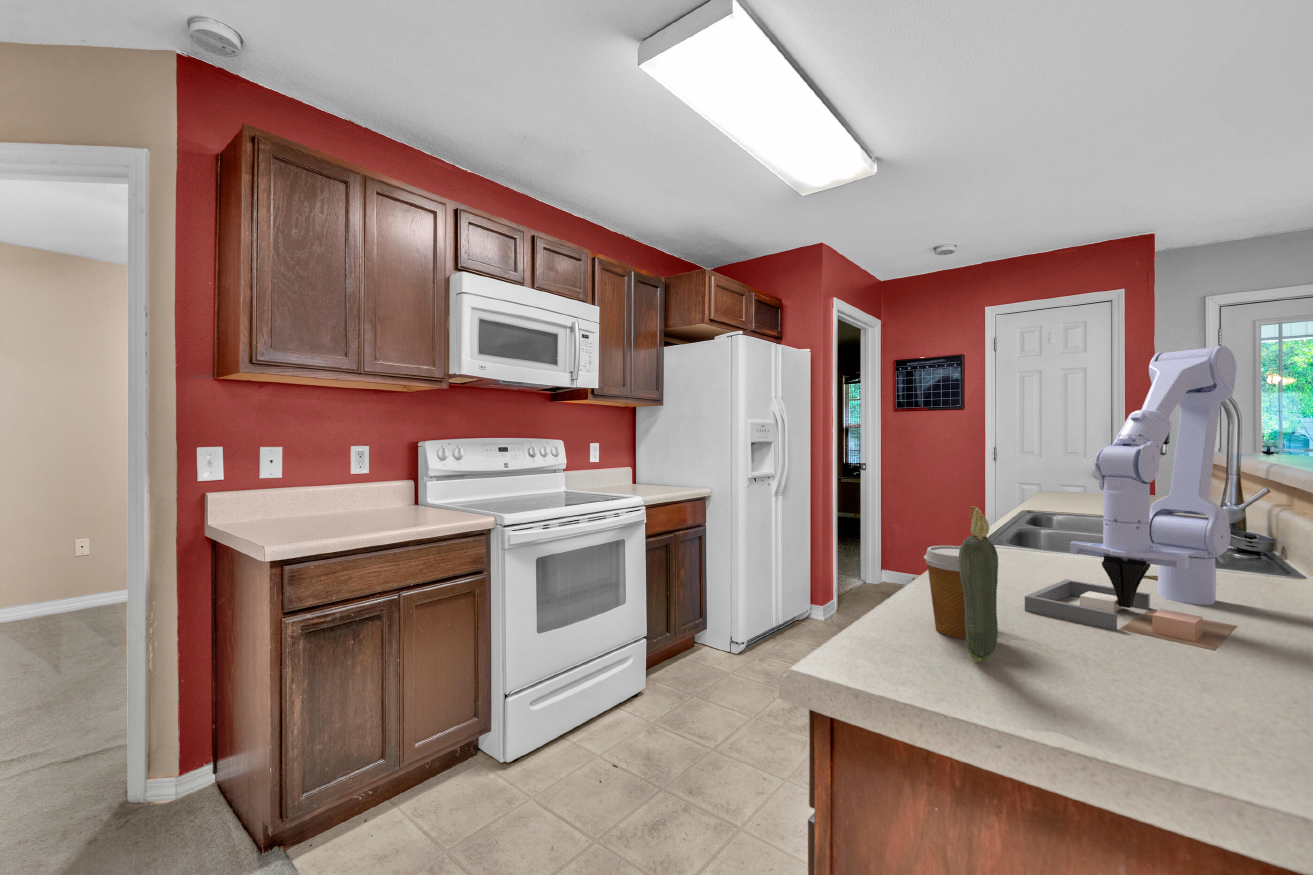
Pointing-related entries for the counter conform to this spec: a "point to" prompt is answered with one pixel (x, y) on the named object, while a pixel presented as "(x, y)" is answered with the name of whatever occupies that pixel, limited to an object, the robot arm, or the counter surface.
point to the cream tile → (1099, 601)
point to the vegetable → (979, 587)
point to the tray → (1050, 606)
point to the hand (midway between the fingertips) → (1125, 606)
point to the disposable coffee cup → (946, 590)
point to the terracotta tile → (1177, 624)
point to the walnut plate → (1209, 639)
